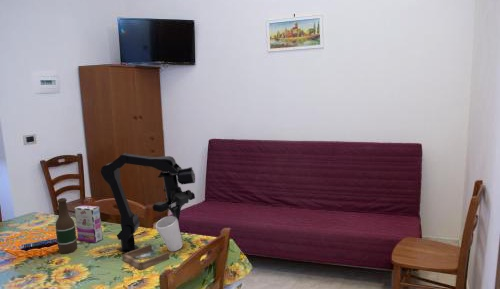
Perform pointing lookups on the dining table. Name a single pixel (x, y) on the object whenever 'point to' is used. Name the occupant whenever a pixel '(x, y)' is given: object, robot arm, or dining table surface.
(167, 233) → the foam cup
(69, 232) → the beer bottle
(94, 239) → the candy bar box
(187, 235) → the dining table surface
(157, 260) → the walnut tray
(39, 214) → the dining table surface
